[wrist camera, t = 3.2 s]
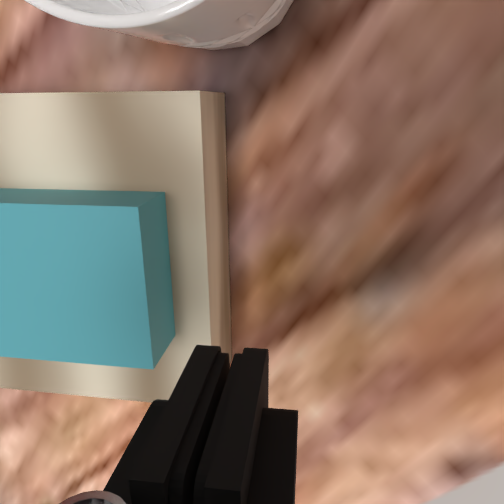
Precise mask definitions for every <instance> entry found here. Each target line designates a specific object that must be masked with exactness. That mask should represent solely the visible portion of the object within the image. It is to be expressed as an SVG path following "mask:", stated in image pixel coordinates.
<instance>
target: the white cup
mask: <svg viewBox="0 0 504 504" xmlns="http://www.w3.org/2000/svg"><path fill="white" fill-rule="evenodd" d="M25 1H26V2H28V3H29V4H31V5H33V6H35V7H36V8H38V9H40V10H42V11H44V12H46V13H49V14H51V15H53V16H56V17H58V18H61V19H64V20H67V21H70V22H73V23H77V24H81V25H85V26H90V27H95V28H99V29H104V30H108V31H113V32H117V33H122V34H126V35H130V36H134V37H139V38H143V39H147V40H151V41H155V42H159V43H164V44H170V45H178V46H183V47H189V48H204V49H208V50H220V49H227V48H235V47H243V46H248V45H250V44H251V43H253V42H254V41H256V40H257V39H258V38H260V37H261V36H263V35H264V34H266V33H267V32H269V31H270V30H271V29H273V28H274V27H276V26H277V25H279V24H280V23H281V21H282V19H283V18H284V16H285V14H286V13H287V11H288V9H289V7H290V6H291V4H292V2H293V1H294V0H25Z"/></svg>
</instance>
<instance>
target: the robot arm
mask: <svg viewBox="0 0 504 504" xmlns="http://www.w3.org/2000/svg"><path fill="white" fill-rule="evenodd" d="M268 362H269V356H268V349H256V348H244V350H243V354H235V355H234V358H233V361H232V364H231V367H230V362H229V354H228V353H222V352H221V347H220V346H208V345H196V346H195V348H194V350H193V352H192V354H191V356H190V358H189V360H188V362H187V364H186V366H185V368H184V370H183V372H182V374H181V376H180V378H179V380H178V382H177V384H176V386H175V388H174V390H173V392H172V394H171V396H170V398H169V400H161V399H156V400H154V401H153V402H152V404H151V405H150V407H149V409H148V410H147V412H146V414H145V416H144V418H143V420H142V421H141V423H140V425H139V427H138V429H137V430H136V432H135V434H134V436H133V438H132V439H131V441H130V443H129V445H128V447H127V448H126V450H125V452H124V454H123V456H122V458H121V459H120V461H119V463H118V465H117V467H116V468H115V470H114V472H113V474H112V476H111V477H110V479H109V481H108V483H107V485H106V486H105V488H104V490H103V491H97V490H96V491H89V492H83V493H80V494H77V495H75V496H72V497H70V498H68V499H66V500H64V501H63V502H61V503H60V504H295V483H296V459H297V429H298V410H287V409H274V408H268Z"/></svg>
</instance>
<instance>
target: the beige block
mask: <svg viewBox="0 0 504 504" xmlns="http://www.w3.org/2000/svg"><path fill="white" fill-rule="evenodd" d="M0 188H13V189H59V190H105V191H151V192H165V200H166V213H167V227H168V240H169V254H170V267H171V281H172V294H173V308H174V321H175V337H174V338H173V340H172V341H171V343H170V345H169V346H168V348H167V349H166V351H165V352H164V354H163V356H162V357H161V359H160V360H159V362H158V363H157V365H156V367H155V368H154V370H152V369H141V368H129V367H117V366H105V365H94V364H82V363H70V362H58V361H47V360H35V359H23V358H11V357H0V388H7V389H18V390H28V391H38V392H49V393H59V394H69V395H80V396H90V397H100V398H110V399H121V400H131V401H141V402H153V401H154V400H156V399H161V400H169V398H170V396H171V394H172V392H173V390H174V388H175V386H176V384H177V382H178V380H179V378H180V376H181V374H182V372H183V370H184V368H185V366H186V364H187V362H188V360H189V358H190V356H191V354H192V352H193V350H194V348H195V346H196V345H208V346H220V347H221V352H222V353H228V354H229V362H231V359H232V343H231V306H230V270H229V233H228V196H227V159H226V123H225V93H220V92H209V91H131V92H59V93H0Z"/></svg>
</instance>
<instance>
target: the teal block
mask: <svg viewBox="0 0 504 504" xmlns="http://www.w3.org/2000/svg"><path fill="white" fill-rule="evenodd" d="M174 337H175V321H174V308H173V294H172V281H171V267H170V254H169V240H168V227H167V213H166V200H165V192H151V191H105V190H59V189H13V188H0V357H11V358H23V359H35V360H47V361H58V362H70V363H82V364H94V365H105V366H117V367H129V368H141V369H152V370H154V368H155V367H156V365H157V363H158V362H159V360H160V359H161V357H162V356H163V354H164V352H165V351H166V349H167V348H168V346H169V345H170V343H171V341H172V340H173V338H174Z"/></svg>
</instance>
